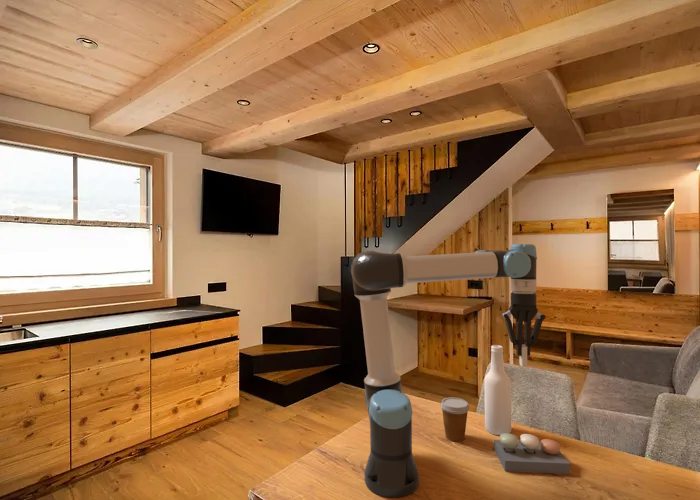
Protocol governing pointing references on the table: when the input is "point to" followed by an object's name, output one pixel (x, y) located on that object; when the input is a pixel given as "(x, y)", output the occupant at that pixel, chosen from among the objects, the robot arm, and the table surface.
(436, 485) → the table surface
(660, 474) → the table surface
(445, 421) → the disposable coffee cup
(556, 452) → the terracotta button
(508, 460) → the button board
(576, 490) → the table surface
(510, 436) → the sage button
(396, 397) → the robot arm
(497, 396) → the alcohol
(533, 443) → the ivory button
